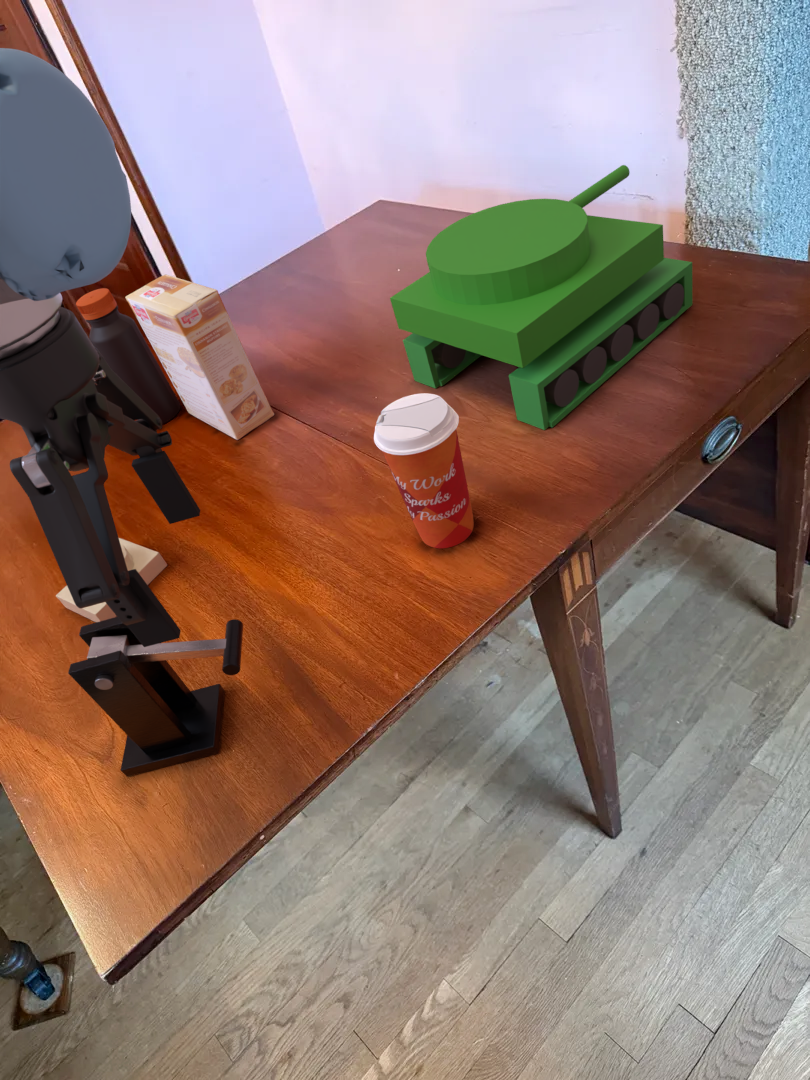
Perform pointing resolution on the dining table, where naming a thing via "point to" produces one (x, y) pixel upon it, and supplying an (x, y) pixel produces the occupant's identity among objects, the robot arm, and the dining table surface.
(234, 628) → the switch lever
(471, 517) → the coffee cup
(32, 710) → the dining table surface
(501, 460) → the dining table surface
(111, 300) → the bottle
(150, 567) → the button housing
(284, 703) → the dining table surface
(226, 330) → the coffeecake box
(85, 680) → the switch bracket
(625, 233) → the tank
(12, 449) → the dining table surface
